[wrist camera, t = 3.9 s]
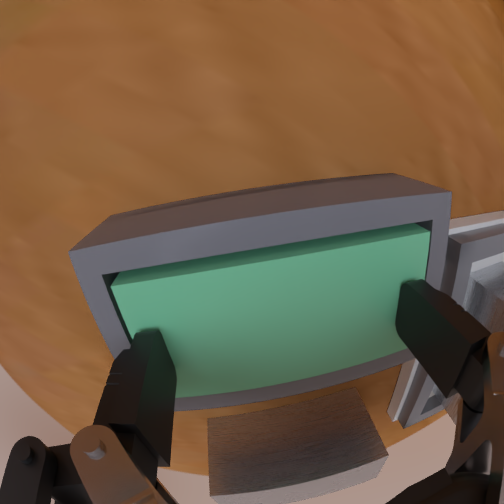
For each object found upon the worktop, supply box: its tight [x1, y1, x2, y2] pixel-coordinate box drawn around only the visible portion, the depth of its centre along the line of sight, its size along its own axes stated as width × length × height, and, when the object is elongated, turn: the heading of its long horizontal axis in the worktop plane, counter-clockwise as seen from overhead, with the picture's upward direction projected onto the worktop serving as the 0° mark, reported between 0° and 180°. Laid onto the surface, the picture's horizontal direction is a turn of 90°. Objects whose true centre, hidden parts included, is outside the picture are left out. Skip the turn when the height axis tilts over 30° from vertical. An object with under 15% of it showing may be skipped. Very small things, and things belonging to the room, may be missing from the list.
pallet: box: [387, 210, 504, 429], centre depth 15 cm, size 16×19×2 cm
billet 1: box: [207, 387, 389, 504], centre depth 15 cm, size 4×10×6 cm, turn 99°
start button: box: [111, 223, 430, 398], centre depth 9 cm, size 5×10×2 cm, turn 98°
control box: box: [68, 173, 452, 411], centre depth 11 cm, size 7×12×4 cm, turn 98°
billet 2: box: [432, 261, 504, 425], centre depth 12 cm, size 10×4×6 cm, turn 8°
